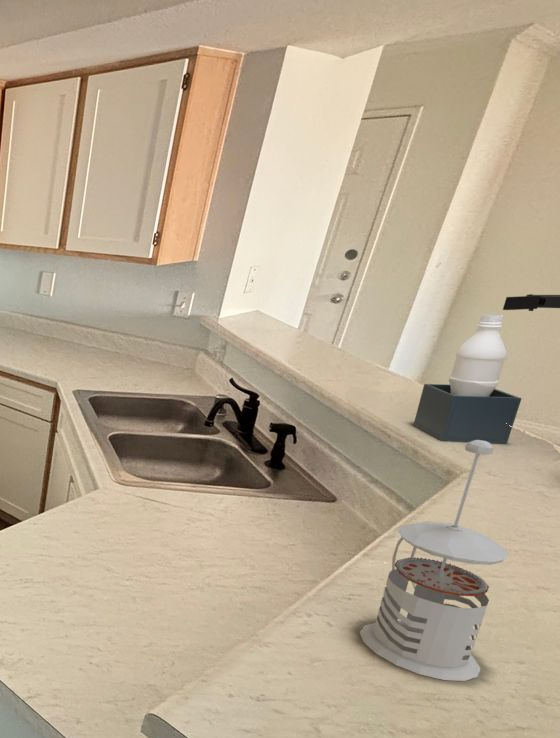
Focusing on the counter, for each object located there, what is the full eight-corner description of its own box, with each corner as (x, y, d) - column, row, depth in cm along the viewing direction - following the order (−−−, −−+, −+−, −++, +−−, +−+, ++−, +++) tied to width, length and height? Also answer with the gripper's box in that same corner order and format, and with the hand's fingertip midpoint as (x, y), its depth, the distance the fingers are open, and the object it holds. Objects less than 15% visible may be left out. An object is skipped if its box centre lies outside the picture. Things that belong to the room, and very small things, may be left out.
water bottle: (439, 433, 126) (472, 316, 118) (432, 423, 132) (463, 312, 124) (487, 437, 122) (524, 317, 115) (477, 428, 128) (512, 313, 120)
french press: (385, 671, 63) (448, 454, 55) (337, 608, 73) (385, 418, 65) (505, 689, 60) (589, 461, 52) (437, 620, 70) (499, 422, 62)
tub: (473, 428, 130) (486, 385, 127) (507, 443, 121) (521, 398, 118) (413, 425, 134) (424, 383, 131) (441, 440, 124) (453, 396, 121)
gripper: (730, 329, 108) (613, 334, 108) (568, 313, 131) (474, 317, 132) (747, 288, 105) (628, 293, 106) (580, 279, 129) (483, 283, 129)
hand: (542, 306), depth 119 cm, fingers open, 13 cm apart
